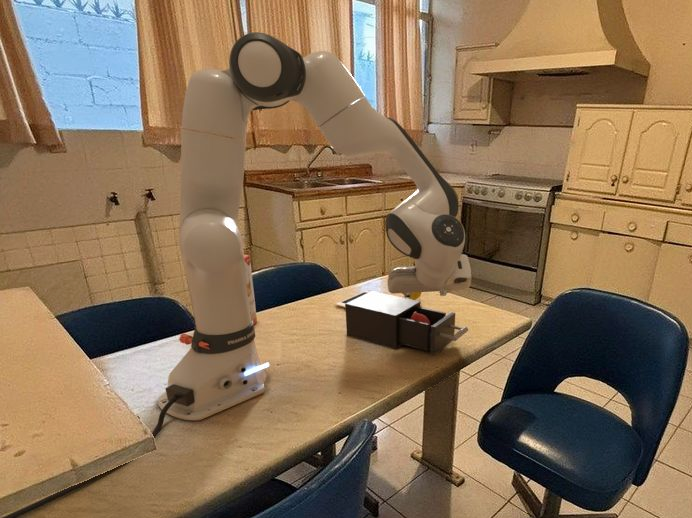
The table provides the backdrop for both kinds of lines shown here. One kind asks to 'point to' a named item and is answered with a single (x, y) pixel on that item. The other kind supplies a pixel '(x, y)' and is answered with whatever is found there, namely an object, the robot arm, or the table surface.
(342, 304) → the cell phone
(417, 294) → the lemon
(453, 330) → the drawer
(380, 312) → the cabinet
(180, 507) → the table surface
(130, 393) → the table surface
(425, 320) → the onion
